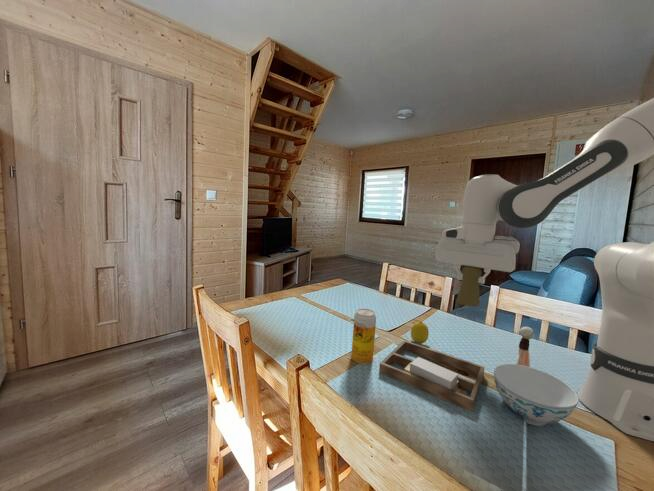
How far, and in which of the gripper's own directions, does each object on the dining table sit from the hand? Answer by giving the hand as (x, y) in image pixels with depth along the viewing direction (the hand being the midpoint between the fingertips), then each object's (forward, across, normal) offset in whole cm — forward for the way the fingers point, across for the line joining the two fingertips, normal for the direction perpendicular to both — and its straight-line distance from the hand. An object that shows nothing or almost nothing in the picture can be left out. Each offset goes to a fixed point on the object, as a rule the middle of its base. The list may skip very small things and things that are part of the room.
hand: (470, 281), depth 82 cm
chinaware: (+24, -17, +15) cm, 33 cm away
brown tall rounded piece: (+7, 0, 0) cm, 7 cm away
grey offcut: (+21, +3, +21) cm, 29 cm away
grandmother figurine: (+24, -15, -7) cm, 30 cm away
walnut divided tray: (+24, +4, +16) cm, 29 cm away
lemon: (+24, +13, -1) cm, 28 cm away
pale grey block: (+23, +3, +20) cm, 31 cm away
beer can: (+24, +22, +21) cm, 39 cm away
